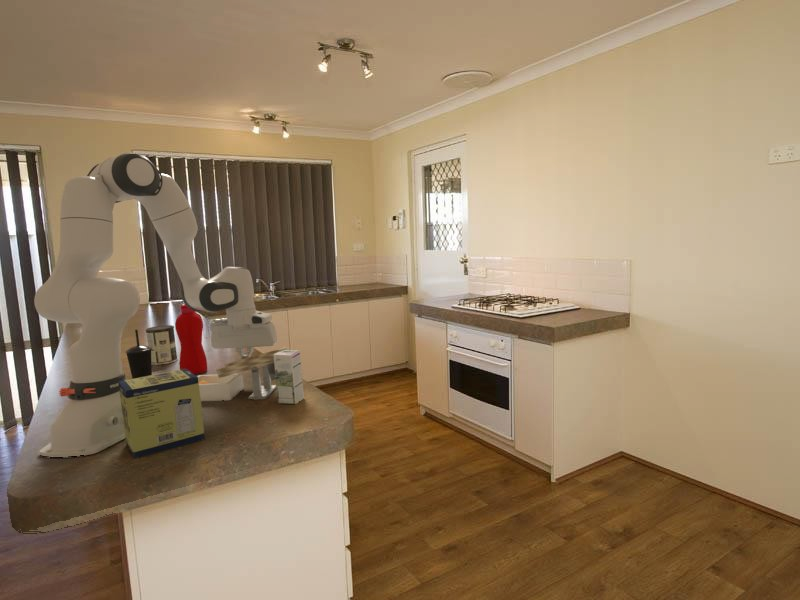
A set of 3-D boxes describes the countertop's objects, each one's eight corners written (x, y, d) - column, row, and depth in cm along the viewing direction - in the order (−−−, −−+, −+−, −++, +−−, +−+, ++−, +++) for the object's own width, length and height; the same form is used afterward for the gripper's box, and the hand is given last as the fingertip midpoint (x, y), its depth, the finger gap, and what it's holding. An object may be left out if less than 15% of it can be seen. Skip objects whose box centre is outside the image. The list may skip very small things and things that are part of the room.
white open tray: (230, 400, 146) (228, 383, 145) (184, 401, 147) (182, 385, 146) (243, 388, 157) (242, 373, 156) (200, 390, 158) (198, 375, 157)
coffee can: (167, 357, 208) (164, 324, 206) (183, 360, 202) (179, 325, 200) (144, 363, 199) (140, 329, 197) (159, 366, 194) (155, 330, 192)
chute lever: (299, 364, 161) (292, 342, 160) (287, 376, 146) (279, 352, 146) (241, 380, 162) (234, 358, 161) (224, 393, 148) (216, 370, 147)
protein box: (125, 445, 117) (116, 380, 115) (194, 427, 126) (187, 367, 124) (133, 459, 108) (124, 390, 106) (206, 439, 118) (199, 375, 116)
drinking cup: (125, 392, 160) (117, 331, 157) (146, 385, 166) (139, 327, 164) (140, 395, 156) (132, 332, 154) (161, 388, 163) (154, 328, 160)
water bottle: (213, 372, 179) (206, 304, 176) (180, 377, 175) (172, 307, 172) (212, 366, 188) (205, 301, 185) (181, 371, 184) (173, 304, 181)
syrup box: (304, 398, 144) (300, 349, 143) (295, 405, 139) (291, 354, 137) (287, 397, 146) (283, 349, 144) (276, 404, 140) (272, 354, 138)
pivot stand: (265, 399, 145) (262, 366, 144) (248, 399, 146) (245, 367, 144) (276, 387, 157) (274, 356, 156) (261, 387, 157) (258, 357, 156)
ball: (204, 381, 149) (191, 384, 150) (207, 394, 150) (195, 396, 150) (210, 378, 153) (197, 380, 154) (213, 390, 154) (201, 392, 154)
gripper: (205, 321, 153) (209, 364, 155) (270, 318, 152) (274, 362, 154) (213, 317, 159) (218, 359, 161) (276, 314, 158) (280, 356, 160)
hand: (246, 360), depth 158 cm, fingers closed
